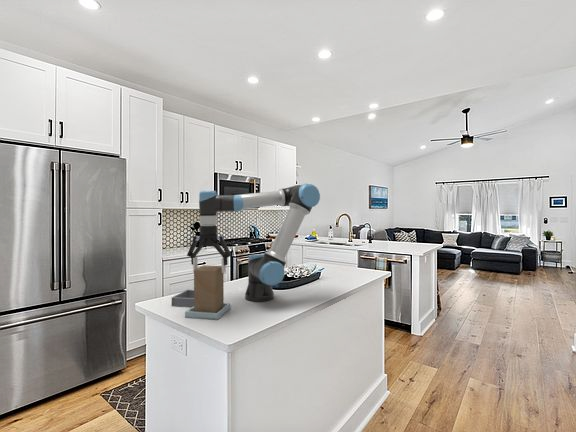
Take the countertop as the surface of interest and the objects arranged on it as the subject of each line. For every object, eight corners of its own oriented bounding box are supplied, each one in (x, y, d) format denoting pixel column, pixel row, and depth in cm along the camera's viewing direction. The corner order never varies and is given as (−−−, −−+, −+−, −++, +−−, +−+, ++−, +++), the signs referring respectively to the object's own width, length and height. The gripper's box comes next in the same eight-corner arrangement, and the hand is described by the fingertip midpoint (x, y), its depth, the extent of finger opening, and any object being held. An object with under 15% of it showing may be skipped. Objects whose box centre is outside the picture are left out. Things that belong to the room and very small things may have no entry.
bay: (210, 298, 162) (210, 290, 162) (197, 307, 148) (197, 299, 147) (187, 297, 165) (187, 289, 165) (171, 305, 150) (171, 297, 150)
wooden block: (215, 316, 134) (214, 270, 134) (193, 314, 136) (193, 269, 136) (224, 308, 144) (223, 265, 144) (203, 307, 146) (203, 265, 145)
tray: (230, 308, 146) (230, 303, 146) (217, 319, 131) (217, 314, 131) (200, 306, 149) (200, 301, 149) (185, 317, 134) (184, 311, 134)
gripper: (237, 224, 141) (238, 271, 141) (187, 224, 145) (188, 269, 146) (231, 225, 133) (232, 274, 134) (178, 225, 138) (179, 273, 138)
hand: (209, 272), depth 140 cm, fingers open, 13 cm apart
